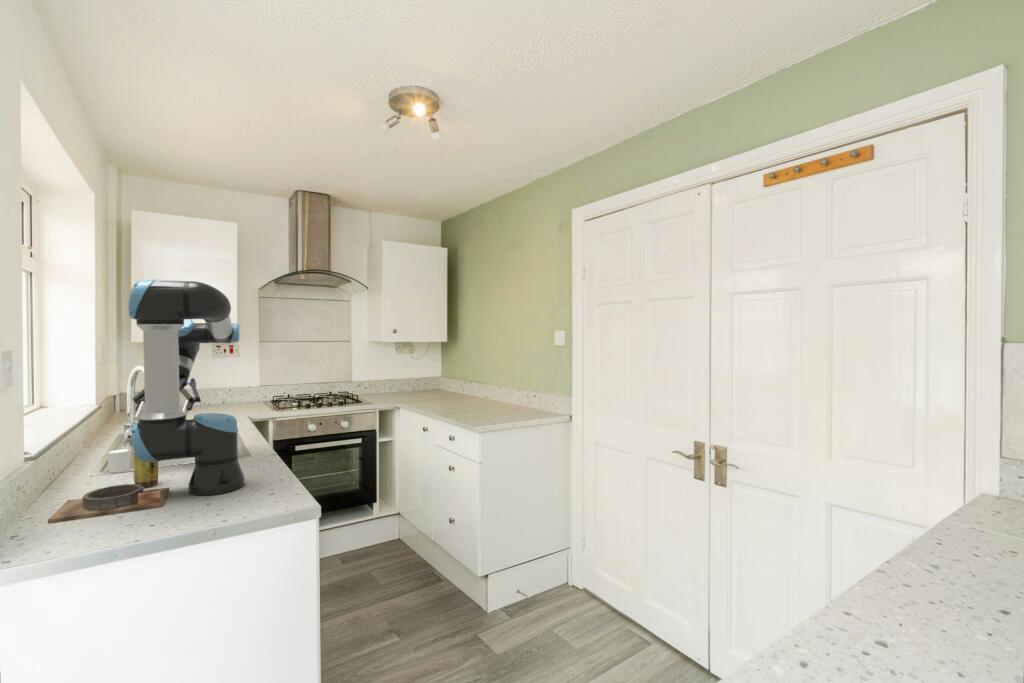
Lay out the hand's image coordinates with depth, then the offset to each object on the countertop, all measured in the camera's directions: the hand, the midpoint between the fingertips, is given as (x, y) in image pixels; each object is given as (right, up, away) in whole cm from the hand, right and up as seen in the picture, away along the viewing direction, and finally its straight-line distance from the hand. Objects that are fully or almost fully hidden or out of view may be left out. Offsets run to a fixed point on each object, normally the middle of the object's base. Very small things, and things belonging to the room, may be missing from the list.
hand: (160, 418), depth 167 cm
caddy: (+7, -20, -28) cm, 35 cm away
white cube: (-19, -20, +7) cm, 29 cm away
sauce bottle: (+3, -20, -10) cm, 23 cm away
